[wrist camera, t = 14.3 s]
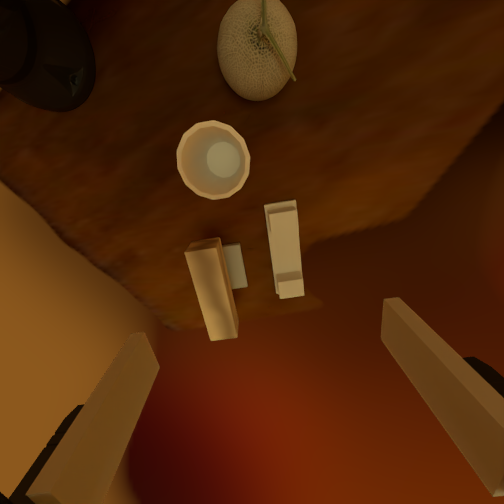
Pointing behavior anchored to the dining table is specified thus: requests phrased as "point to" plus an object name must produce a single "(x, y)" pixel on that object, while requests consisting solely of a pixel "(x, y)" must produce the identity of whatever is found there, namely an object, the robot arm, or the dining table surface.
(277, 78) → the fruit
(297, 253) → the beige bracket
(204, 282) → the bar
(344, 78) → the dining table surface
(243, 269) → the fulcrum
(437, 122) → the dining table surface
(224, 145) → the foam cup
